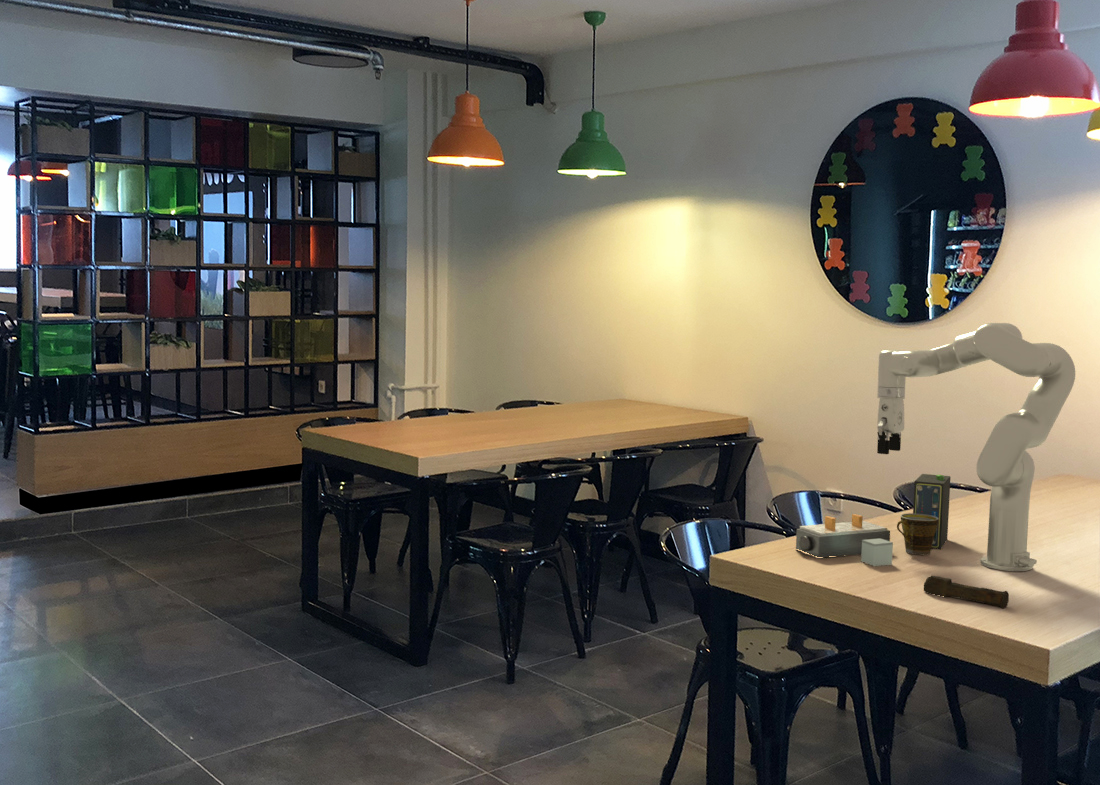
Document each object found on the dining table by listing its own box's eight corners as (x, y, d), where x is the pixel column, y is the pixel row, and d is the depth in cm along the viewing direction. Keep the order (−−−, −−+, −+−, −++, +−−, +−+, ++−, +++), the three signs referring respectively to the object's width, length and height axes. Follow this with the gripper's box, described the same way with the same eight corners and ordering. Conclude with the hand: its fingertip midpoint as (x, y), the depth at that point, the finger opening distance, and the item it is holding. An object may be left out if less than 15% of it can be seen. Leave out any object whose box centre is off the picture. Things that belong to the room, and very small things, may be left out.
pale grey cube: (891, 564, 272) (892, 542, 272) (873, 566, 270) (874, 544, 269) (879, 560, 277) (880, 538, 276) (861, 562, 274) (862, 540, 274)
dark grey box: (910, 547, 292) (913, 477, 290) (919, 535, 308) (922, 469, 306) (940, 551, 288) (943, 480, 286) (948, 538, 304) (951, 471, 302)
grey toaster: (889, 551, 286) (890, 517, 285) (814, 559, 276) (815, 523, 276) (865, 543, 295) (866, 510, 294) (792, 550, 286) (793, 515, 285)
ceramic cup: (917, 546, 293) (919, 512, 292) (944, 554, 284) (946, 519, 283) (883, 550, 287) (884, 515, 286) (909, 558, 278) (911, 522, 277)
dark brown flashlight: (1010, 607, 235) (1011, 587, 235) (1004, 610, 232) (1005, 590, 232) (928, 591, 248) (929, 572, 247) (921, 594, 245) (922, 575, 244)
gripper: (894, 395, 286) (891, 456, 288) (913, 392, 300) (911, 450, 302) (867, 394, 291) (865, 454, 292) (888, 390, 305) (886, 448, 306)
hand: (888, 452), depth 297 cm, fingers open, 9 cm apart
